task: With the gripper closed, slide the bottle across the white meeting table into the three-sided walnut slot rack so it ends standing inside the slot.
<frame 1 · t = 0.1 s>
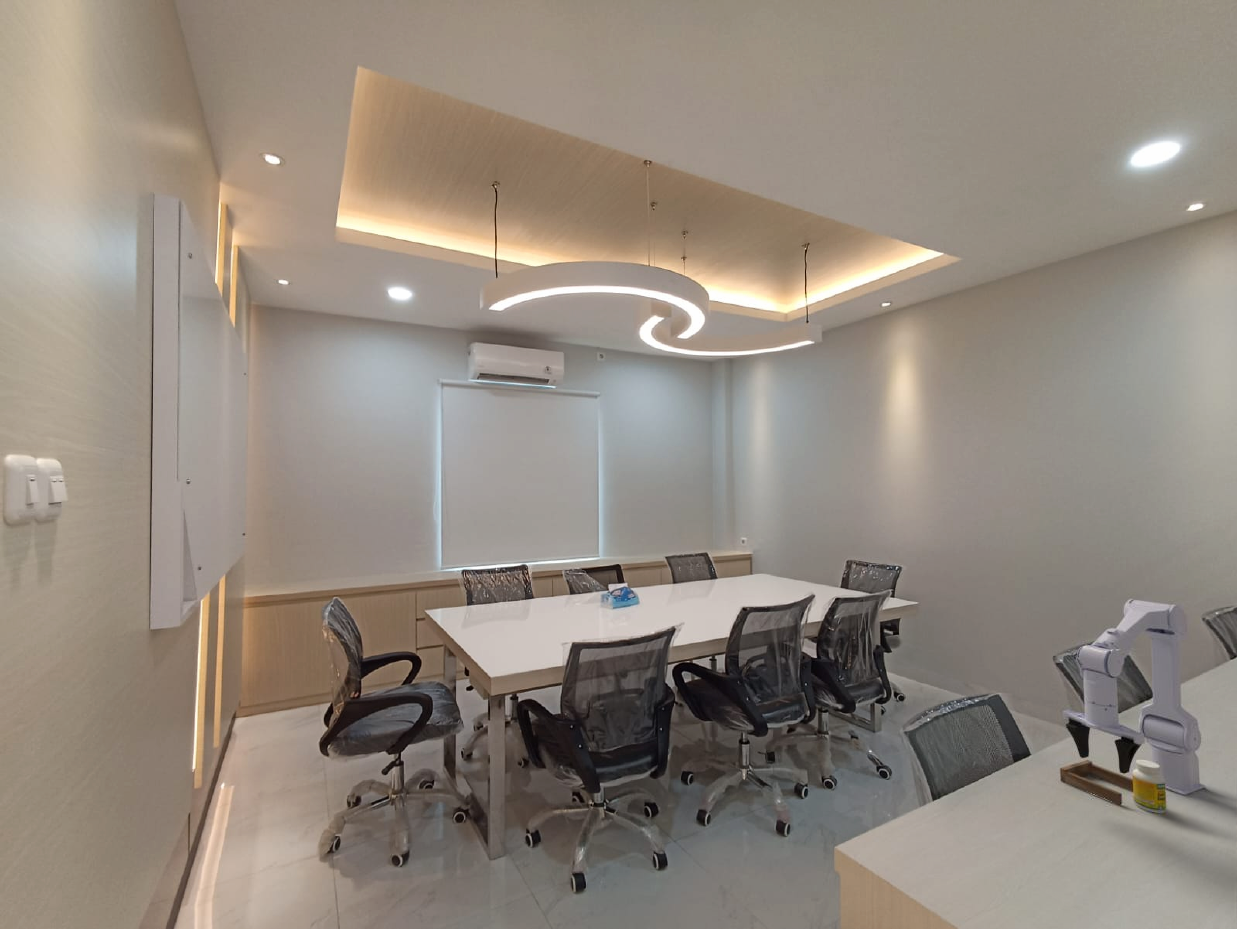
hand: (1103, 764, 125), 10 cm above the table, tool pointing down, fingers open, 7 cm apart
supplement bottle: (1150, 808, 126), on the table
walnut slot rack: (1105, 789, 134), on the table
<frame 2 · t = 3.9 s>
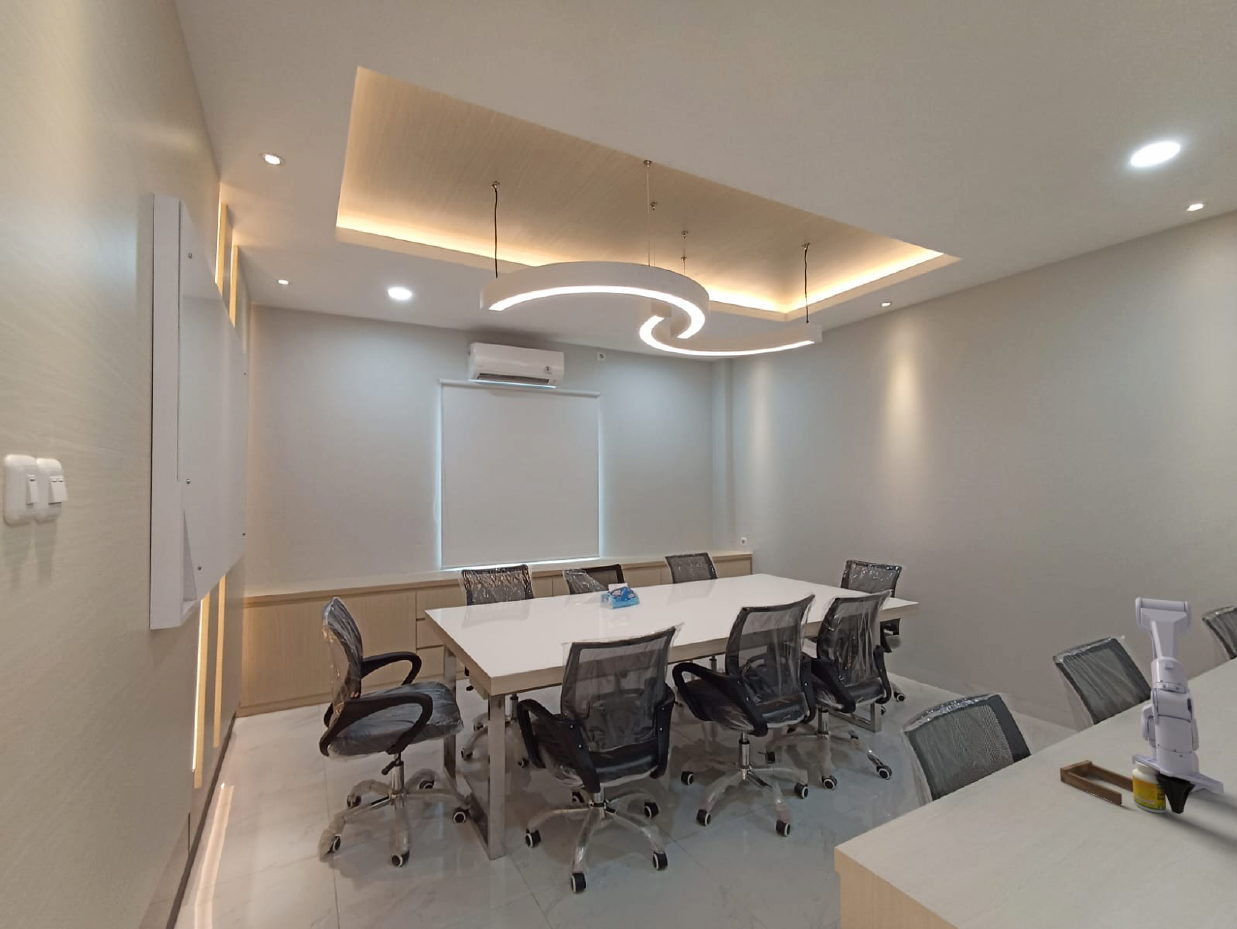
hand: (1177, 812, 122), 1 cm above the table, tool pointing down, fingers closed
supplement bottle: (1150, 808, 126), on the table, touching gripper
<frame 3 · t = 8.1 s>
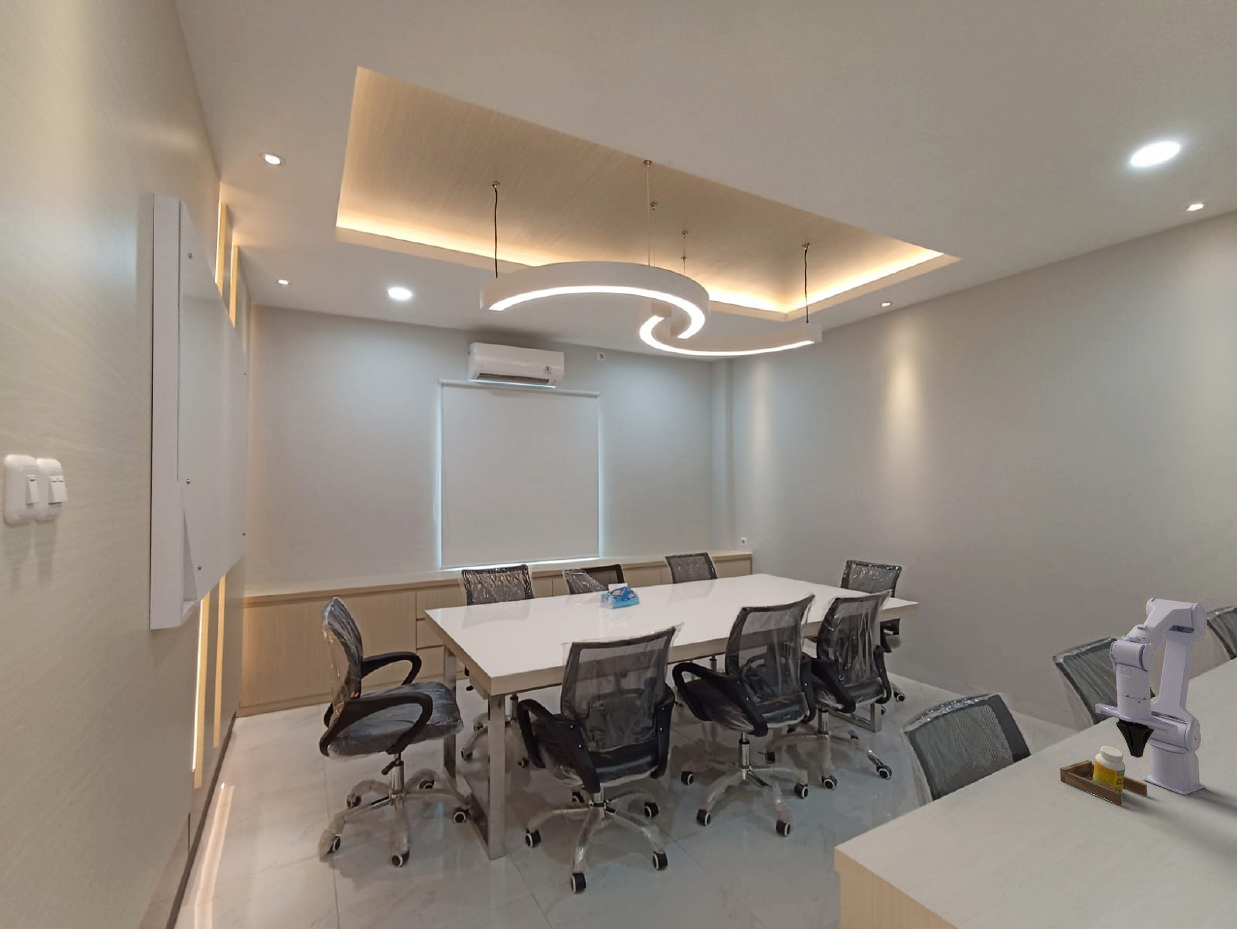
hand: (1136, 756, 129), 10 cm above the table, tool pointing down, fingers closed
supplement bottle: (1106, 788, 134), on the table
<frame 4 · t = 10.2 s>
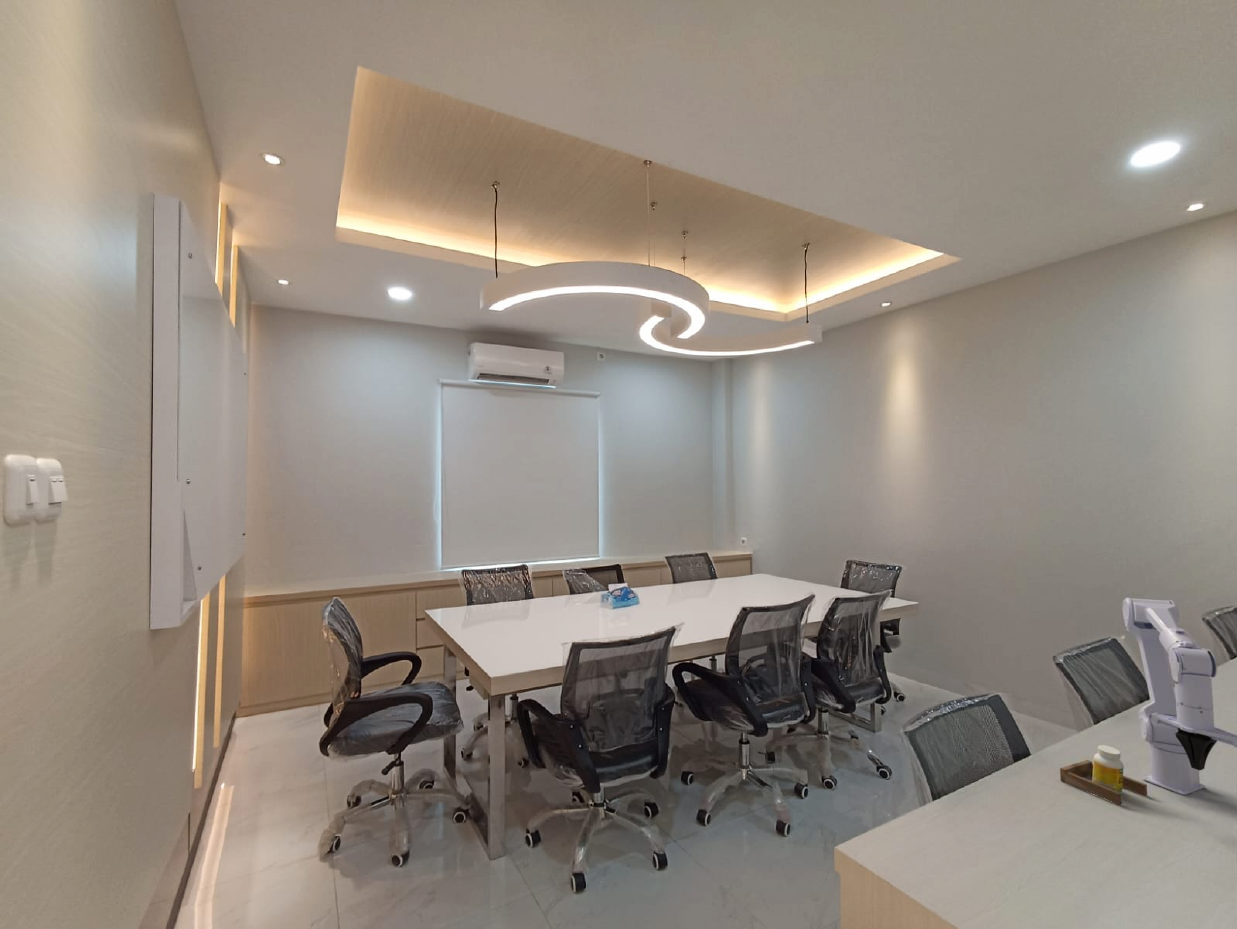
hand: (1197, 768, 123), 10 cm above the table, tool pointing down, fingers closed
at the end: supplement bottle inside the target area (1.5 cm from its centre), on the table; supplement bottle tilted 5°; supplement bottle moved 8.1 cm from its start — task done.
